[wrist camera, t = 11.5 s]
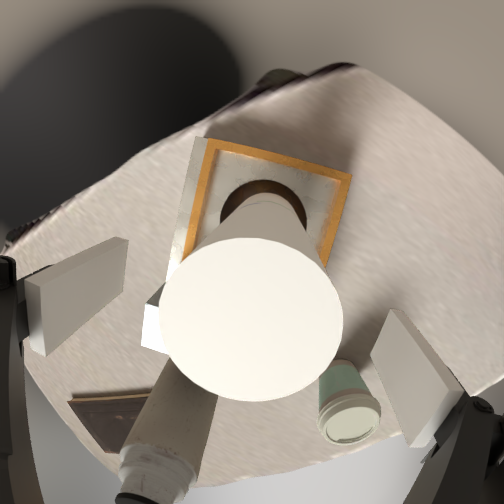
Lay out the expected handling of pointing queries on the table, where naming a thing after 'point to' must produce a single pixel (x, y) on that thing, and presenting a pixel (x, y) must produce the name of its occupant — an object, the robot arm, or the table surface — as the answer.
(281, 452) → the table surface
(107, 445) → the hardcover book
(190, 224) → the grey stand with tray
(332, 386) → the coffee cup
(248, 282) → the cylindrical container
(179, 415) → the thermos bottle
